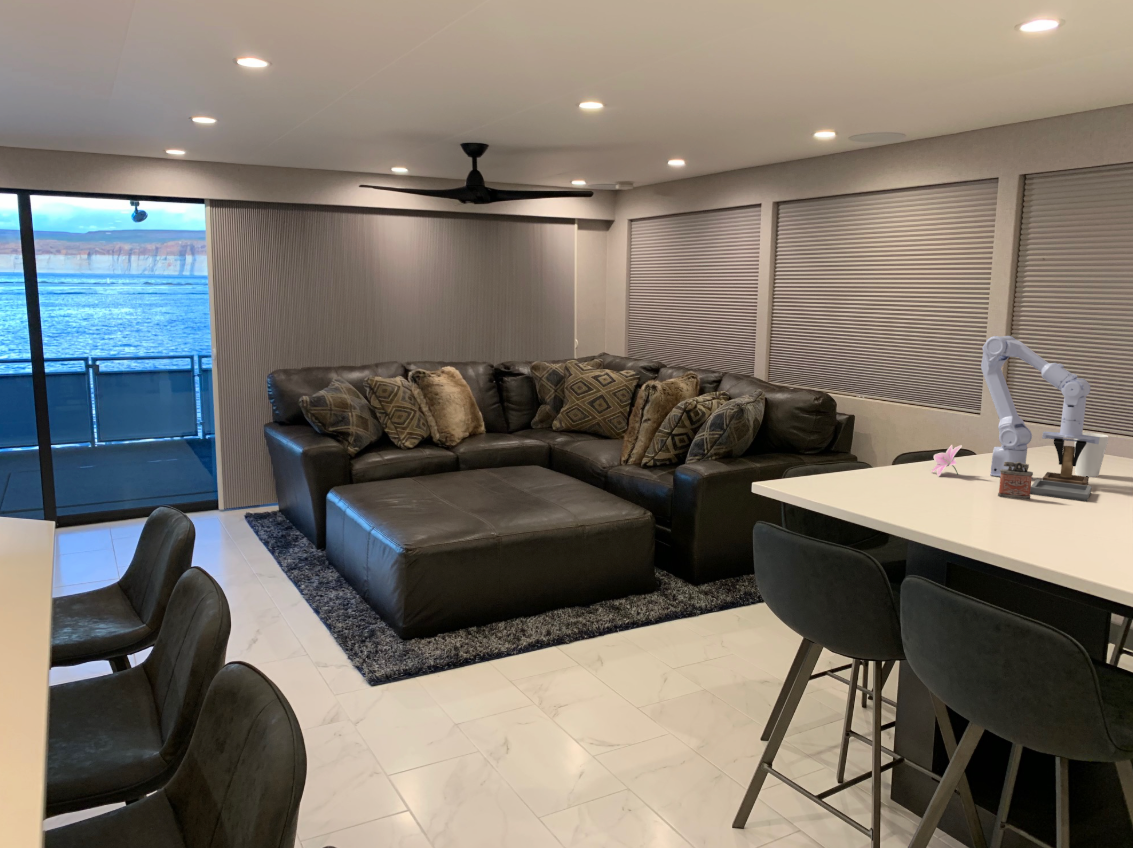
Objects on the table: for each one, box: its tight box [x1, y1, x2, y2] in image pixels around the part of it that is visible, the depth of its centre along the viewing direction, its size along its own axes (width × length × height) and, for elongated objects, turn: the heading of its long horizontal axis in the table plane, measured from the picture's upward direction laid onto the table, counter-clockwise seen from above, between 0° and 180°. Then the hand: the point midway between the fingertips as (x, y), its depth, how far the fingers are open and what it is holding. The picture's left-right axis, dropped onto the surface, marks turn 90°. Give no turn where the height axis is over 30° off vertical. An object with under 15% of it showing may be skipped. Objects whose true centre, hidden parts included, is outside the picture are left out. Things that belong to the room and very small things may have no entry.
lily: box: [930, 444, 963, 477], centre depth 268 cm, size 12×12×10 cm
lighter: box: [997, 462, 1034, 501], centre depth 238 cm, size 8×3×10 cm, turn 71°
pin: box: [1060, 445, 1075, 477], centre depth 256 cm, size 3×3×9 cm
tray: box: [1030, 478, 1092, 503], centre depth 245 cm, size 14×14×2 cm
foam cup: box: [1073, 431, 1110, 478], centre depth 273 cm, size 10×9×13 cm
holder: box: [1042, 471, 1090, 486], centre depth 256 cm, size 11×11×2 cm
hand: (1067, 465), depth 256 cm, fingers closed on pin, 3 cm apart
